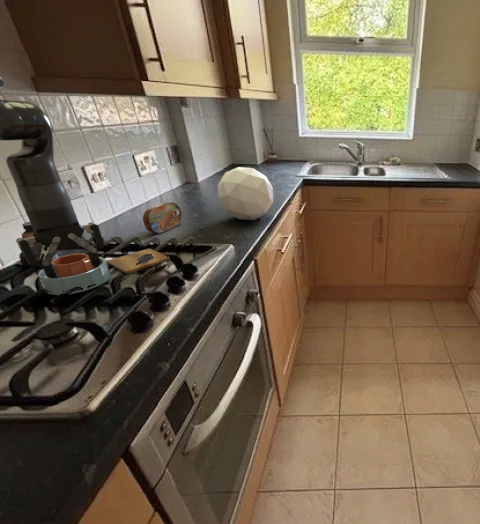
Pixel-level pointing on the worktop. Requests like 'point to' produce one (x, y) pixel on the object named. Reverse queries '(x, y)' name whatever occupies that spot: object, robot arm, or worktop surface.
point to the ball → (245, 193)
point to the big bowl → (76, 279)
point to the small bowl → (72, 265)
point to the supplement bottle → (37, 243)
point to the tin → (162, 217)
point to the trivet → (129, 261)
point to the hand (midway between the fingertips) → (75, 272)
